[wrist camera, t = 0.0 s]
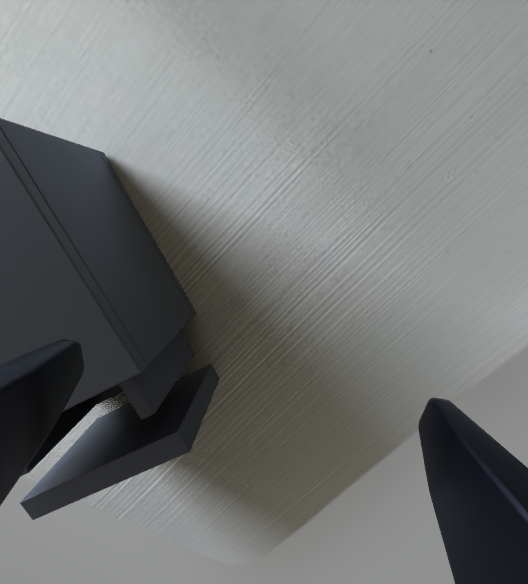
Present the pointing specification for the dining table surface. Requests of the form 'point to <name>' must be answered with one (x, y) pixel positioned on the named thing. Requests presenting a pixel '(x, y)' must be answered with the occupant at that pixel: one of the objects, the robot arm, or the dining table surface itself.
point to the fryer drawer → (126, 431)
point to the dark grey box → (79, 262)
